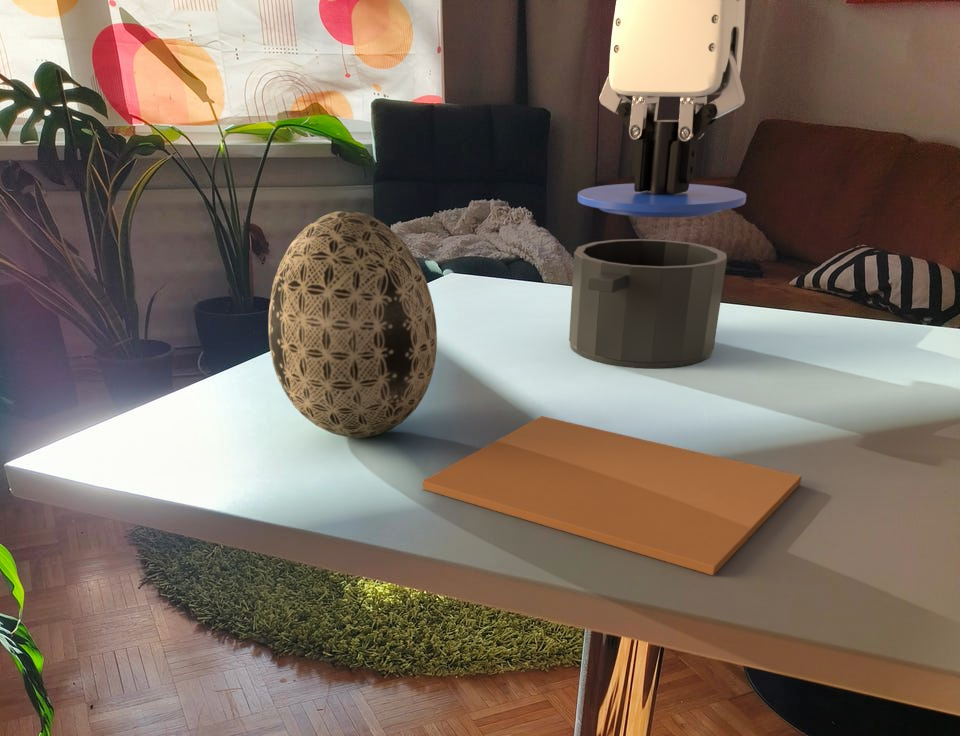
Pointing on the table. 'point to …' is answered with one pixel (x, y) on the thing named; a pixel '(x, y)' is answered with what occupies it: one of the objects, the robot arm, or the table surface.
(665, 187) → the blue lid
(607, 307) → the pot
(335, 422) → the decorative egg
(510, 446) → the cork mat
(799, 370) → the table surface
